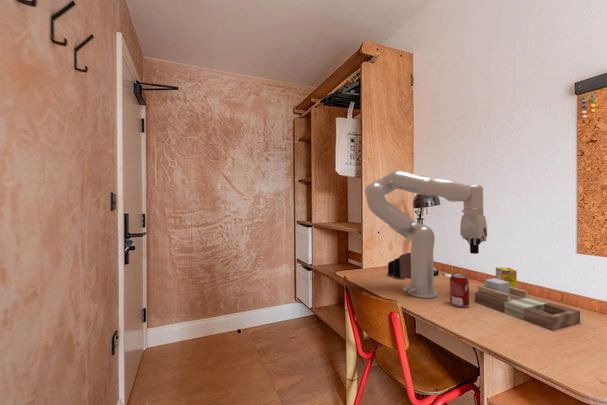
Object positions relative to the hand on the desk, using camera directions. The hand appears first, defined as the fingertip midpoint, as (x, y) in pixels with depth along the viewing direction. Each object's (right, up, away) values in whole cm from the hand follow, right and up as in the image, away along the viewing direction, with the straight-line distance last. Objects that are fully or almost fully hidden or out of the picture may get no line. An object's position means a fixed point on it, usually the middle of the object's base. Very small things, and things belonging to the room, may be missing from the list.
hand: (474, 253), depth 121 cm
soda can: (-13, -19, -11) cm, 26 cm away
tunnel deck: (+7, -19, -18) cm, 27 cm away
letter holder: (-17, -20, +34) cm, 43 cm away
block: (+3, -15, -9) cm, 18 cm away
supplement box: (+16, -19, +3) cm, 25 cm away
